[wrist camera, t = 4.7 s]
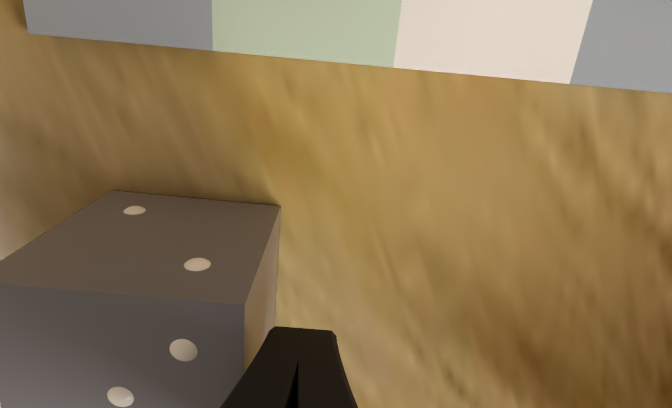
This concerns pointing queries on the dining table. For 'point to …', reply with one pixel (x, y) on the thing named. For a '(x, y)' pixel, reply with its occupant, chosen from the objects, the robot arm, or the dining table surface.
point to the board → (399, 34)
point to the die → (138, 304)
